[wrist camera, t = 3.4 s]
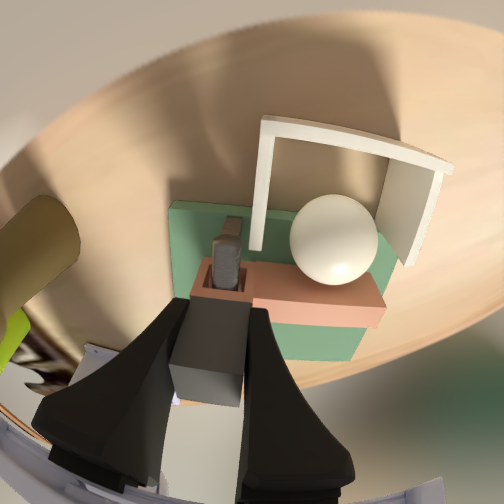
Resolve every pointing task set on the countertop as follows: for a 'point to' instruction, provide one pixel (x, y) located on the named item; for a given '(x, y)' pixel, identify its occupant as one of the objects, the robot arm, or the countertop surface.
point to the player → (237, 319)
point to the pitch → (273, 250)
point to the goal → (394, 190)
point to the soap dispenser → (13, 336)
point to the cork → (34, 252)
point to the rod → (227, 255)
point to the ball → (333, 239)
